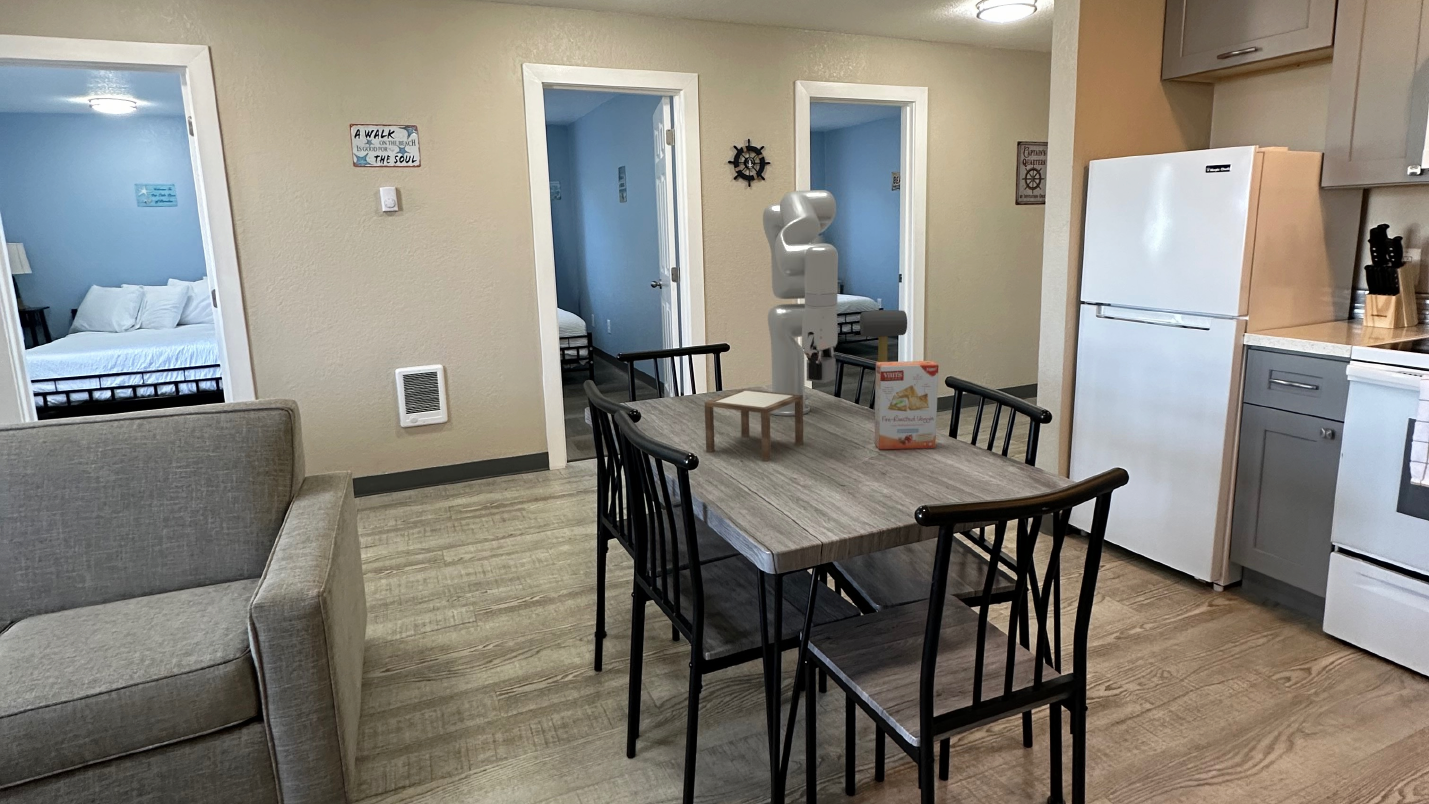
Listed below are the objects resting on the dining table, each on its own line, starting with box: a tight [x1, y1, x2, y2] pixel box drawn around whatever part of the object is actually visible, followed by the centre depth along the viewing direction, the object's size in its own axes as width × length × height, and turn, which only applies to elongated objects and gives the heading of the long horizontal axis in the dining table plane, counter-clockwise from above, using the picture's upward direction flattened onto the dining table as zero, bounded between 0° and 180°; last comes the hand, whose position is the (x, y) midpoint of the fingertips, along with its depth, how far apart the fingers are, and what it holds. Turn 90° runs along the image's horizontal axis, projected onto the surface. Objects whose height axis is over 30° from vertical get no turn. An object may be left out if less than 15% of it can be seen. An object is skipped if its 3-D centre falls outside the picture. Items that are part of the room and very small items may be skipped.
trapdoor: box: [716, 391, 792, 407], centre depth 200 cm, size 14×14×1 cm
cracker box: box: [874, 360, 939, 450], centre depth 197 cm, size 14×6×21 cm, turn 91°
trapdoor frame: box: [704, 388, 804, 462], centre depth 201 cm, size 18×18×12 cm
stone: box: [806, 355, 836, 384], centre depth 191 cm, size 5×5×5 cm
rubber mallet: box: [859, 309, 908, 362], centre depth 228 cm, size 12×8×30 cm, turn 90°
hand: (820, 376), depth 192 cm, fingers closed on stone, 5 cm apart
